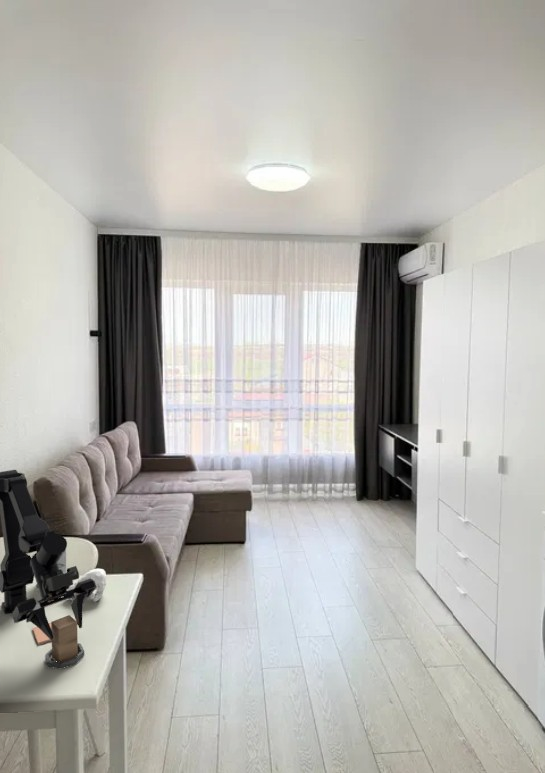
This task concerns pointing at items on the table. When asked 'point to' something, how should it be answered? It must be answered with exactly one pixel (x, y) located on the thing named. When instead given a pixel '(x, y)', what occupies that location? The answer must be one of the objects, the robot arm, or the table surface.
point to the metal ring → (65, 663)
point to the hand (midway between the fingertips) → (66, 633)
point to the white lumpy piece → (99, 579)
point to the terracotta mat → (40, 635)
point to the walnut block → (64, 639)
